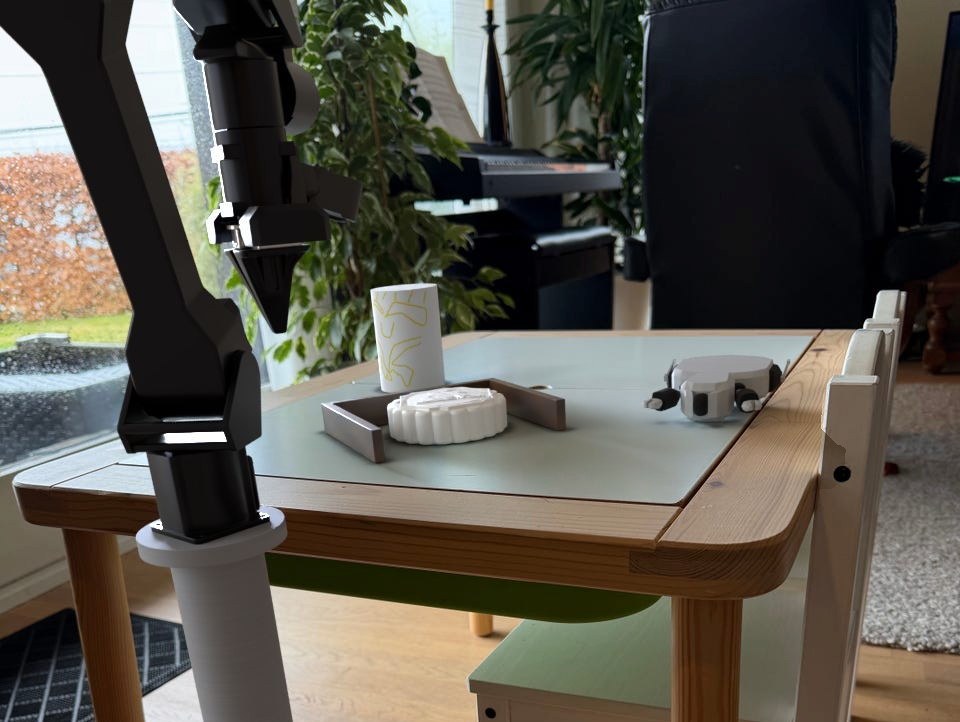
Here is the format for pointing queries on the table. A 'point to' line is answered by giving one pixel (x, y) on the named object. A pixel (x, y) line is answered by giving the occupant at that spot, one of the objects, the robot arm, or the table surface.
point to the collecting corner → (362, 415)
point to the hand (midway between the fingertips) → (279, 333)
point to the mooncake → (447, 415)
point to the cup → (408, 337)
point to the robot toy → (717, 385)
